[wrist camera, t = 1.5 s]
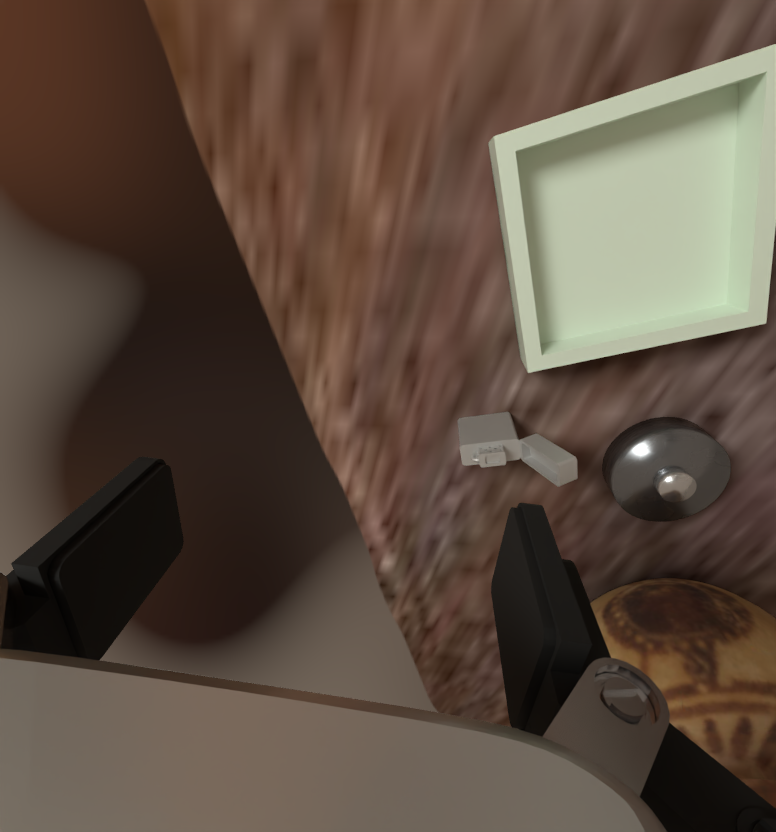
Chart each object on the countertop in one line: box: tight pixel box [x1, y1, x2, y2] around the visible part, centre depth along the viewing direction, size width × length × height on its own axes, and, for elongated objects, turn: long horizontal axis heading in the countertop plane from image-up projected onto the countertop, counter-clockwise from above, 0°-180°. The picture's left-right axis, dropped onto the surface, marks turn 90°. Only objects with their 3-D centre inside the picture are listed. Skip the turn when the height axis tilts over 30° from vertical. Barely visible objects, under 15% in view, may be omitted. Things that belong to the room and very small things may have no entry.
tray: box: [488, 44, 776, 373], centre depth 26 cm, size 14×14×3 cm
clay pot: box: [590, 578, 776, 808], centre depth 34 cm, size 19×19×20 cm
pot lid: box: [602, 417, 731, 521], centre depth 32 cm, size 8×8×4 cm
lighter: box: [458, 412, 577, 487], centre depth 30 cm, size 7×2×8 cm, turn 102°
